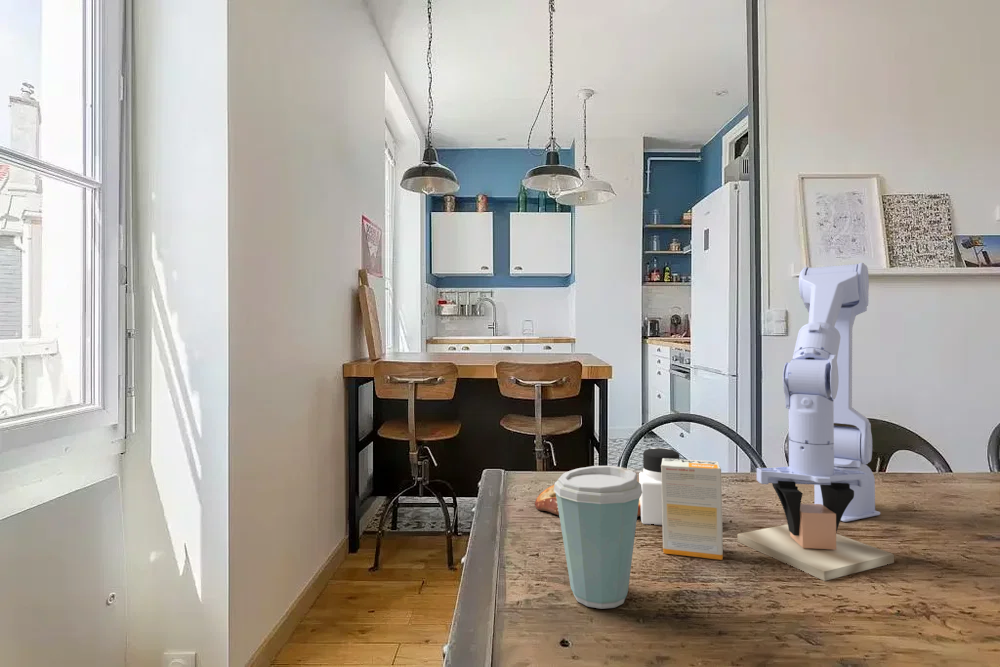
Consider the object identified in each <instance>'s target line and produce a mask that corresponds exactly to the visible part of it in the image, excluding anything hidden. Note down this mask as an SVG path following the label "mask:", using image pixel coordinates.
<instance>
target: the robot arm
mask: <svg viewBox="0 0 1000 667" xmlns="http://www.w3.org/2000/svg"><path fill="white" fill-rule="evenodd" d="M869 277H870V276H869V268H868V266H867V265H866V264H865V263H864V262H859V263H853V264H851V263H850V264H841V265H839V264H838V265H827V266H817V267H816V266H815V267H808V266H807V267H806V266H804V267H803V268H802V270H800V272H799V276H798V291H799V296H800V299H802V302H803V305H804V307H805V309H806V311H807V312H808V320H807V322H808V323H806V324H804V325H802V326H801V327H800V328H799V330H798V332H797V337H796V339H795V340H796V341H795V345H794V350H793V353H792V359H791V360H790V362H784V365H783V370H782V387H783V392H784V400H785V404H784V405H785V408H786V409H787V410H788V414H787V415H788V416H787V418H788V424H787V425H788V466H777V467H775V466H774V467H756V481H757V482H758V484H760V485H769V484H771V485H772V487H773V489H774V490H775V493H776V495H777V497H778V499H779V501H780V504H781V506H782V508H783V509H782V510H783V511H784V514H785V519H786V522H787V523H786V524H788V528H789V531H790V532H791V533H792V534H793V535H795V536H799V529H800V505H801V502H802V499H803V498H802V497H803V492H801V491H800V490H799V489H798V486H797V485H813V487H814V489H813V490H814V492H813V493H814V496H813V498H814V503H813V504H822V505H823V506H825V507H826V508H828V509H829V510H831V511H832V512H834V513H835V514H836V534H838V529H839V526H840V523H841V521H842V522H846V523H847V522H851V521H856V520H860V519H866V518H867V519H868V518H871V517H875V516H880V515H881V511H877V510H876V480H875V475H874V473H873V471H872V469H871V468H870V466H868V464H869V463H870V462H871V461H872V456H873V435H872V426H871V425H872V424H871V422H870V420H869V418H868V417H866V416H865V415H863V414H862V413H861V412H859V411H857V410H856V409H854V407H853V326H854V323H855V319H856V316H858V315H861V314H863V313H865V312H867V310H868V306H869V287H870V281H869V280H870V279H869ZM835 424H842V425H835ZM844 425H850V426H844Z"/></svg>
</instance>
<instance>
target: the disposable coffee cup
mask: <svg viewBox="0 0 1000 667" xmlns="http://www.w3.org/2000/svg"><path fill="white" fill-rule="evenodd" d="M553 485H554V490H553V491H554V492H555V493H556V498H557V505H558V511H559V515H558V517H559V522H560V529H561V535H562V541H563V548H564V555H565V560H566V566H567V573H568V578H569V579H568V580H569V586H570V590H571V591H572V594H573V596H574V598H575V600H576V601H577V602H578V603H580V604H581V605H584V606H586V607H589V608H596V609H601V610H602V609H614V608H617V607H619V606H621V605H623V604H624V603H625V601H626V598H627V595H628V592H629V586H630V578H631V569H632V563H633V552H634V544H635V538H636V531H637V530H636V527H637V520H638V517H637V513H638V505H639V498H640V497H641V494H642V488H641V484H640V483H639V481H638V474H637V473H636V472H635V471H634V470H631V469H629V468H627V467H622V466H621V467H620V466H618V465H591V466H586V467H579V468H575V469H571V470H569V471H566V472H563V473H562V474H561V475H560V477H558V478H557V480H556V481H555V482H554V484H553Z"/></svg>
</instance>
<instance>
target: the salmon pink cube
mask: <svg viewBox="0 0 1000 667" xmlns="http://www.w3.org/2000/svg"><path fill="white" fill-rule="evenodd" d="M836 534H837V533H836V514H835V513H834V512H832V511H831V510H829V509H828V508H826V507H825V506H823V505H822V504H814V503H801V505H800V529H799V536H795V535H793V534H792V533H791V532H790V536H791V537H792V538H793V539H794V540H795V541H796V542H797V543H798V544H799V545H800V546H801V547H803V548H815V549H835V550H836Z"/></svg>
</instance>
